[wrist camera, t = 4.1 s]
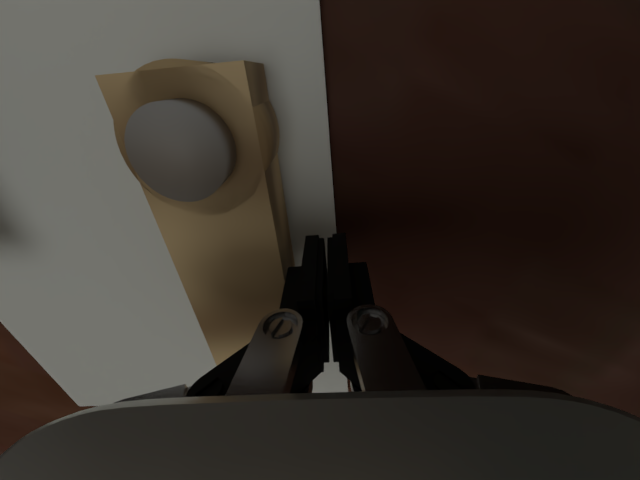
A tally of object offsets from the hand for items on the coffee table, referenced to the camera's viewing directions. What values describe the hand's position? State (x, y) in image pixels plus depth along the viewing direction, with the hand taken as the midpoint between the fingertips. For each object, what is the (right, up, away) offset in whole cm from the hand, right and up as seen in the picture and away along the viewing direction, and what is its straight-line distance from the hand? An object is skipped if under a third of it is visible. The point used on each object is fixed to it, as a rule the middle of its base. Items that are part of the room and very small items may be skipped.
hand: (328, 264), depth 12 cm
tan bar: (-3, 0, +2) cm, 4 cm away
